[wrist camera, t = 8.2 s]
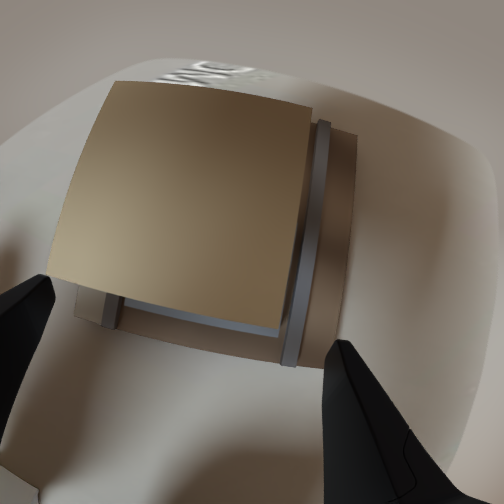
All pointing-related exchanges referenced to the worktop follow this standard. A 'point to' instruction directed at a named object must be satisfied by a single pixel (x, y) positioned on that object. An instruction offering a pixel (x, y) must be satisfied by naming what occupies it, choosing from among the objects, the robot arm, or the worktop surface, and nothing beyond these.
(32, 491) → the skyscraper
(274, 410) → the worktop surface
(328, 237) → the board
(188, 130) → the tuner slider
